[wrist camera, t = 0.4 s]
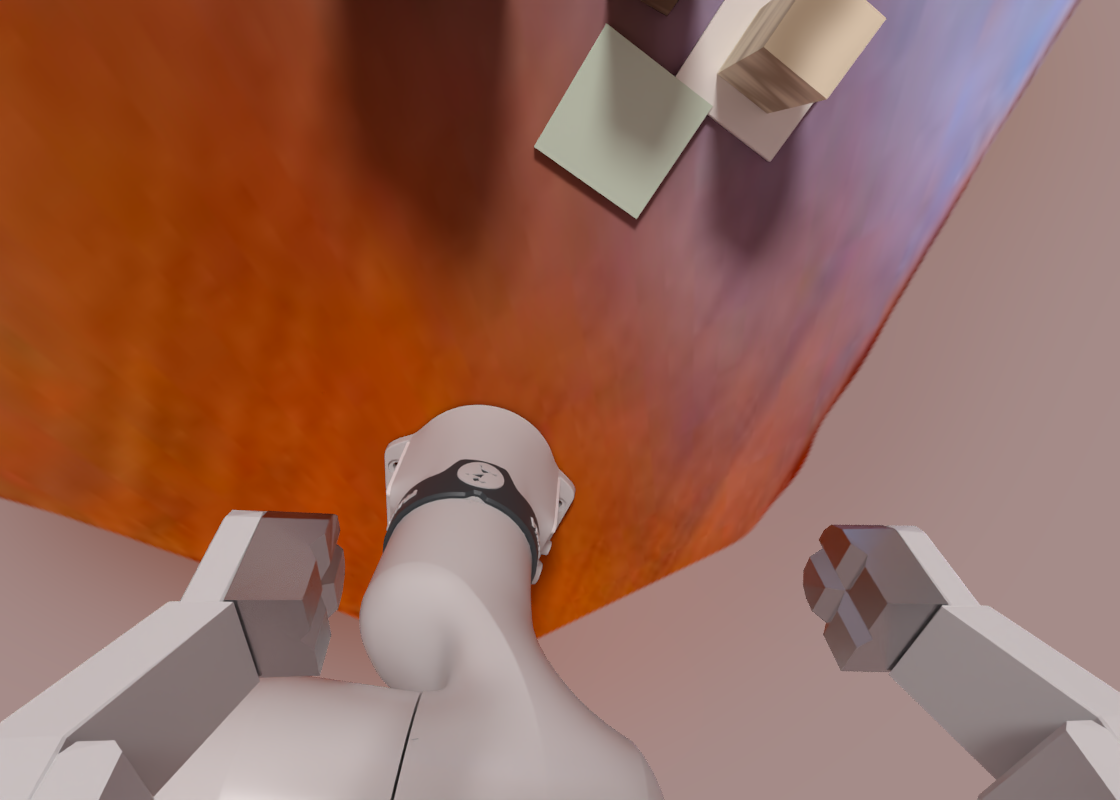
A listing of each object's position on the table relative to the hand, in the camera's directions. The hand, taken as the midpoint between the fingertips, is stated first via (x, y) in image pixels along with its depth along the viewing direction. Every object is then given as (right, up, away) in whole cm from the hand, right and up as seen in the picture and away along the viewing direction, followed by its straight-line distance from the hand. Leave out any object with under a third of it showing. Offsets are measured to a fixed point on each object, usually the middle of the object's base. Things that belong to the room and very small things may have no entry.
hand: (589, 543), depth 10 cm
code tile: (+15, +28, +35) cm, 48 cm away
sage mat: (+4, +24, +37) cm, 44 cm away
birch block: (+15, +28, +35) cm, 47 cm away
